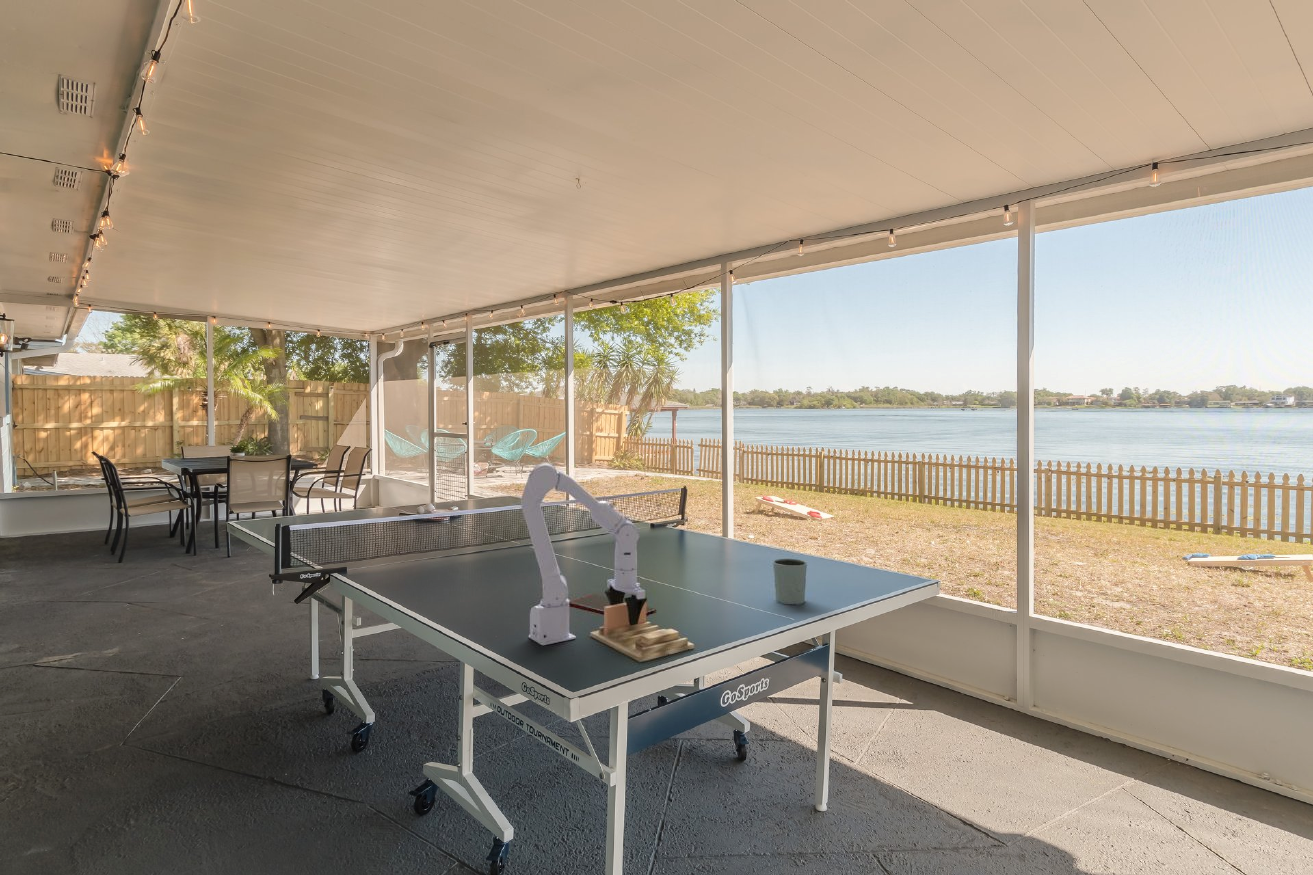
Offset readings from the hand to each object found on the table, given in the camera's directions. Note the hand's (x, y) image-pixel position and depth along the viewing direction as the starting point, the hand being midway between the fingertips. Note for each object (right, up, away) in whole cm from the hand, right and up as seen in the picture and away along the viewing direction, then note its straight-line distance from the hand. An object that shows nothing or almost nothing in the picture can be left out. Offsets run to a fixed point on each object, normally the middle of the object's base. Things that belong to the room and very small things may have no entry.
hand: (625, 620), depth 175 cm
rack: (+4, -4, -5) cm, 7 cm away
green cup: (+49, -3, +34) cm, 59 cm away
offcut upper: (+9, -2, -11) cm, 14 cm away
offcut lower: (+8, -3, -11) cm, 15 cm away
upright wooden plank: (0, -3, 0) cm, 3 cm away
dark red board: (-5, -4, +24) cm, 25 cm away
